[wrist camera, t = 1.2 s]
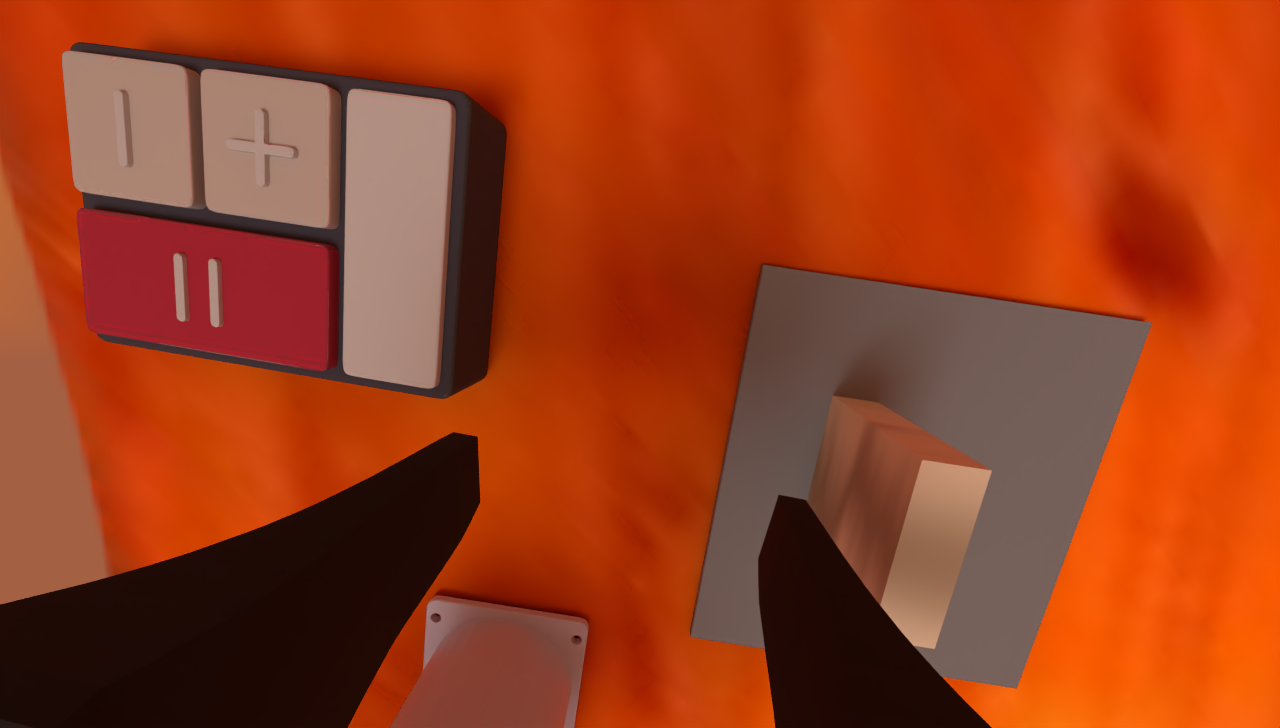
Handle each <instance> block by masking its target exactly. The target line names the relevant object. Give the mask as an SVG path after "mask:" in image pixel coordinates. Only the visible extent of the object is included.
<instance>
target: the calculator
mask: <svg viewBox="0 0 1280 728" xmlns="http://www.w3.org/2000/svg"><path fill="white" fill-rule="evenodd" d="M62 68H63V78H64V88H65V99H66V109H67V120H68V130H69V140H70V151H71V161H72V172H73V180H74V185H75V187H76V188H77V189H78V190H79V191H82V193H83V203H84V208H81V209H79V210H78V212H77V224H78V234H79V245H80V255H81V266H82V276H83V286H84V297H85V307H86V317H87V324H88V328H89V329H90V330H91V331H92V332H95V333H97V335H98V336H99V337H100V338H101V339H102V340H104V341H107V342H112V343H117V344H123V345H129V346H135V347H141V348H147V349H152V350H158V351H164V352H170V353H176V354H182V355H187V356H193V357H199V358H205V359H211V360H217V361H222V362H228V363H234V364H240V365H246V366H252V367H257V368H263V369H269V370H275V371H281V372H287V373H292V374H298V375H304V376H310V377H316V378H322V379H327V380H333V381H339V382H345V383H351V384H357V385H362V386H368V387H374V388H380V389H386V390H392V391H397V392H403V393H409V394H415V395H421V396H427V397H432V398H439V399H445V398H448V397H450V396H452V395H454V394H456V393H458V392H460V391H462V390H463V389H465V388H467V387H469V386H471V385H473V384H475V383H477V382H479V381H480V380H482V379H484V378H485V376H486V374H487V369H488V358H489V345H490V333H491V321H492V309H493V297H494V284H495V272H496V260H497V248H498V235H499V223H500V211H501V199H502V186H503V174H504V162H505V150H506V129H505V127H504V125H503V124H502V123H501V122H500V121H498V120H497V119H496V118H495V117H494V116H492V115H491V114H490V113H489V112H488V111H486V110H485V109H484V108H483V107H482V106H480V105H479V104H478V103H477V102H475V101H474V100H473V99H472V98H470V97H469V96H468V95H467V94H465V93H464V92H461V91H457V90H450V89H442V88H434V87H427V86H419V85H411V84H403V83H396V82H388V81H380V80H372V79H365V78H357V77H349V76H341V75H333V74H326V73H318V72H310V71H302V70H295V69H287V68H279V67H271V66H264V65H256V64H248V63H240V62H232V61H225V60H217V59H209V58H201V57H194V56H186V55H178V54H170V53H163V52H155V51H147V50H139V49H131V48H124V47H116V46H108V45H100V44H92V43H84V42H78V43H75V44H74V45H72V47H71V49H70V51H66V52H64V53H63V55H62Z"/></svg>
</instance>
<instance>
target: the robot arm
mask: <svg viewBox="0 0 1280 728" xmlns="http://www.w3.org/2000/svg"><path fill="white" fill-rule="evenodd" d="M479 504H480V485H479V460H478V437H476V436H471V435H465V434H460V433H455V432H453V433H451V434H449V435H447V436H445V437H443V438H441V439H439V440H438V441H436V442H434V443H432V444H430V445H428V446H427V447H425V448H423V449H421V450H419V451H418V452H416V453H414V454H412V455H410V456H409V457H407V458H405V459H403V460H401V461H399V462H398V463H396V464H394V465H392V466H390V467H388V468H387V469H385V470H383V471H381V472H379V473H377V474H375V475H374V476H372V477H370V478H368V479H366V480H364V481H362V482H360V483H358V484H356V485H354V486H352V487H350V488H348V489H346V490H344V491H342V492H340V493H338V494H335V495H333V496H331V497H329V498H327V499H325V500H323V501H321V502H319V503H317V504H315V505H312V506H310V507H308V508H306V509H303V510H301V511H299V512H297V513H294V514H292V515H290V516H287V517H285V518H282V519H280V520H277V521H275V522H273V523H270V524H268V525H265V526H263V527H260V528H258V529H255V530H252V531H250V532H247V533H244V534H241V535H238V536H236V537H233V538H230V539H227V540H224V541H222V542H219V543H216V544H213V545H210V546H208V547H205V548H202V549H199V550H196V551H194V552H191V553H187V554H184V555H181V556H178V557H175V558H172V559H169V560H165V561H162V562H159V563H156V564H153V565H149V566H146V567H142V568H139V569H136V570H132V571H129V572H125V573H122V574H118V575H115V576H111V577H108V578H104V579H100V580H97V581H93V582H89V583H86V584H82V585H78V586H74V587H70V588H66V589H62V590H58V591H54V592H49V593H45V594H42V595H37V596H33V597H30V598H25V599H21V600H17V601H13V602H9V603H6V604H1V605H0V728H348V726H349V724H350V722H351V720H352V718H353V716H354V714H355V712H356V710H357V708H358V706H359V705H360V703H361V701H362V699H363V697H364V695H365V693H366V691H367V689H368V688H369V686H370V684H371V682H372V680H373V679H374V677H375V675H376V673H377V671H378V669H379V668H380V666H381V664H382V662H383V660H384V658H385V657H386V655H387V653H388V651H389V649H390V648H391V646H392V644H393V643H394V641H395V639H396V638H397V636H398V635H399V633H400V631H401V630H402V628H403V627H404V625H405V624H406V622H407V621H408V619H409V618H410V616H411V615H412V613H413V612H414V610H415V609H416V607H417V606H418V604H419V603H420V601H421V600H422V598H423V597H424V595H425V594H426V592H427V591H428V589H429V588H430V586H431V585H432V583H433V582H434V580H435V579H436V577H437V576H438V575H439V573H440V572H441V570H442V569H443V567H444V566H445V564H446V562H447V561H448V559H449V558H450V556H451V555H452V553H453V552H454V550H455V549H456V547H457V546H458V544H459V543H460V541H461V539H462V538H463V536H464V534H465V532H466V530H467V528H468V526H469V524H470V522H471V520H472V518H473V516H474V514H475V512H476V510H477V508H478V506H479ZM758 589H759V608H760V616H761V623H762V630H763V638H764V645H765V652H766V660H767V667H768V674H769V681H770V688H771V695H772V703H773V710H774V719H775V728H991V727H990V726H989V725H988V724H987V723H986V722H985V721H984V720H983V719H982V718H981V717H980V716H979V715H978V714H977V713H976V712H975V711H974V710H973V709H972V708H971V707H970V706H969V705H968V704H967V703H966V702H965V701H964V700H963V699H962V698H961V697H960V696H959V695H958V693H957V692H956V691H955V690H954V689H953V688H952V687H951V686H950V685H949V684H948V683H947V682H946V681H945V680H944V679H943V678H942V677H941V676H940V674H939V673H938V672H937V671H936V670H935V669H934V668H933V667H932V666H931V664H930V663H929V662H928V661H927V660H926V659H925V658H924V657H923V656H922V655H921V653H920V652H919V651H918V650H917V649H916V648H915V647H914V646H913V645H912V643H911V642H910V641H909V640H908V639H907V637H906V636H905V635H904V634H903V633H902V632H901V630H900V629H899V628H898V627H897V626H896V624H895V623H894V622H893V621H892V619H891V618H890V617H889V616H888V614H887V613H886V612H885V611H884V609H883V608H882V607H881V606H880V604H879V603H878V602H877V601H876V599H875V598H874V597H873V595H872V594H871V593H870V591H869V590H868V589H867V588H866V586H865V585H864V583H863V582H862V581H861V579H860V578H859V577H858V575H857V574H856V572H855V571H854V570H853V568H852V567H851V565H850V564H849V563H848V561H847V560H846V558H845V557H844V556H843V554H842V553H841V551H840V550H839V548H838V547H837V545H836V544H835V542H834V541H833V539H832V538H831V537H830V535H829V534H828V532H827V531H826V529H825V528H824V526H823V525H822V523H821V522H820V520H819V519H818V517H817V516H816V514H815V513H814V511H813V510H812V508H811V507H810V505H809V504H808V502H807V501H806V500H804V499H799V498H794V497H789V496H783V495H778V498H777V502H776V505H775V508H774V511H773V514H772V517H771V520H770V523H769V526H768V529H767V533H766V536H765V539H764V542H763V545H762V548H761V551H760V554H759V557H758ZM435 613H437V614H439V615H440V616H441V617H439V616H437V615H436V614H435ZM588 630H589V624H588V622H587V621H586V620H585V619H583V618H580V617H575V616H568V615H562V614H555V613H549V612H543V611H536V610H530V609H524V608H517V607H511V606H505V605H498V604H492V603H486V602H479V601H473V600H467V599H460V598H454V597H448V596H441V595H436V596H434V597H432V599H431V600H430V601H429V603H428V605H427V613H426V629H425V645H424V661H423V672H422V673H421V675H420V677H419V679H418V680H417V682H416V684H415V685H414V687H413V689H412V690H411V692H410V694H409V696H408V697H407V699H406V701H405V702H404V704H403V706H402V707H401V709H400V711H399V713H398V714H397V716H396V718H395V719H394V721H393V723H392V724H391V726H390V728H574V727H575V720H576V713H577V706H578V699H579V692H580V685H581V678H582V671H583V664H584V657H585V651H586V644H587V637H588ZM576 635H577V636H580V637H581V638H575V637H574V636H576Z"/></svg>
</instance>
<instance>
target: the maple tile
mask: <svg viewBox="0 0 1280 728" xmlns="http://www.w3.org/2000/svg"><path fill="white" fill-rule="evenodd" d="M991 472H992V470H990V469H988V468H987V467H985V466H983V465H982V464H980V463H978V462H977V461H975V460H973V459H972V458H970V457H968V456H967V455H965V454H963V453H962V452H960V451H958V450H957V449H955V448H953V447H952V446H950V445H948V444H947V443H945V442H943V441H942V440H940V439H938V438H937V437H935V436H933V435H932V434H930V433H928V432H927V431H925V430H923V429H922V428H920V427H918V426H917V425H915V424H913V423H912V422H910V421H909V420H907V419H905V418H904V417H902V416H900V415H899V414H897V413H895V412H894V411H892V410H890V409H889V408H887V407H885V406H884V405H882V404H880V403H879V402H872V401H866V400H859V399H853V398H846V397H839V396H833V395H832V399H831V404H830V408H829V412H828V416H827V420H826V425H825V429H824V433H823V437H822V441H821V446H820V450H819V454H818V458H817V462H816V466H815V471H814V475H813V479H812V483H811V487H810V492H809V496H808V500H807V502H808V504H809V505H810V507H811V508H812V510H813V511H814V513H815V514H816V516H817V517H818V519H819V520H820V522H821V523H822V525H823V526H824V528H825V529H826V531H827V532H828V534H829V535H830V537H831V538H832V539H833V541H834V542H835V544H836V545H837V547H838V548H839V550H840V551H841V553H842V554H843V556H844V557H845V558H846V560H847V561H848V563H849V564H850V565H851V567H852V568H853V570H854V571H855V572H856V574H857V575H858V577H859V578H860V579H861V581H862V582H863V583H864V585H865V586H866V588H867V589H868V590H869V591H870V593H871V594H872V595H873V597H874V598H875V599H876V601H877V602H878V603H879V604H880V606H881V607H882V608H883V609H884V611H885V612H886V613H887V614H888V616H889V617H890V618H891V619H892V621H893V622H894V623H895V624H896V626H897V627H898V628H899V629H900V630H901V632H902V633H903V634H904V635H905V636H906V637H907V639H908V640H909V641H910V642H911V643H912V645H913V646H919V647H925V648H931V649H935V646H936V643H937V640H938V637H939V634H940V631H941V628H942V625H943V621H944V618H945V615H946V612H947V609H948V606H949V603H950V600H951V597H952V593H953V590H954V587H955V584H956V581H957V578H958V575H959V572H960V569H961V565H962V562H963V559H964V556H965V553H966V550H967V547H968V544H969V541H970V537H971V534H972V531H973V528H974V525H975V522H976V519H977V516H978V513H979V509H980V506H981V503H982V500H983V497H984V494H985V491H986V488H987V485H988V481H989V478H990V475H991Z"/></svg>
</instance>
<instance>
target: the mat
mask: <svg viewBox="0 0 1280 728" xmlns="http://www.w3.org/2000/svg"><path fill="white" fill-rule="evenodd" d="M1151 324H1152V323H1150V322H1143V321H1136V320H1130V319H1123V318H1116V317H1110V316H1103V315H1096V314H1090V313H1083V312H1076V311H1070V310H1063V309H1056V308H1050V307H1043V306H1036V305H1029V304H1023V303H1016V302H1009V301H1003V300H996V299H989V298H983V297H976V296H969V295H963V294H956V293H949V292H943V291H936V290H929V289H923V288H916V287H909V286H903V285H896V284H889V283H883V282H876V281H869V280H862V279H856V278H849V277H842V276H836V275H829V274H822V273H816V272H809V271H802V270H796V269H789V268H782V267H776V266H769V265H761V271H760V276H759V281H758V286H757V291H756V296H755V301H754V306H753V311H752V317H751V322H750V327H749V332H748V337H747V342H746V347H745V352H744V358H743V363H742V368H741V373H740V378H739V383H738V388H737V393H736V398H735V404H734V409H733V414H732V419H731V424H730V429H729V434H728V439H727V445H726V450H725V455H724V460H723V465H722V470H721V475H720V480H719V485H718V491H717V496H716V501H715V506H714V511H713V516H712V521H711V526H710V531H709V537H708V542H707V547H706V552H705V557H704V562H703V567H702V572H701V578H700V583H699V588H698V593H697V598H696V603H695V608H694V613H693V618H692V624H691V629H690V636H691V637H693V638H699V639H706V640H712V641H719V642H725V643H731V644H738V645H744V646H750V647H757V648H763V649H765V645H764V638H763V630H762V623H761V616H760V608H759V589H758V557H759V554H760V551H761V548H762V545H763V542H764V539H765V536H766V533H767V529H768V526H769V523H770V520H771V517H772V514H773V511H774V508H775V505H776V502H777V498H778V495H783V496H789V497H794V498H799V499H804V500H806V501H807V500H808V496H809V492H810V487H811V483H812V479H813V475H814V471H815V466H816V462H817V458H818V454H819V450H820V446H821V441H822V437H823V433H824V429H825V425H826V420H827V416H828V412H829V408H830V404H831V399H832V395H833V396H839V397H846V398H853V399H859V400H866V401H872V402H879V403H880V404H882V405H884V406H885V407H887V408H889V409H890V410H892V411H894V412H895V413H897V414H899V415H900V416H902V417H904V418H905V419H907V420H909V421H910V422H912V423H913V424H915V425H917V426H918V427H920V428H922V429H923V430H925V431H927V432H928V433H930V434H932V435H933V436H935V437H937V438H938V439H940V440H942V441H943V442H945V443H947V444H948V445H950V446H952V447H953V448H955V449H957V450H958V451H960V452H962V453H963V454H965V455H967V456H968V457H970V458H972V459H973V460H975V461H977V462H978V463H980V464H982V465H983V466H985V467H987V468H988V469H990V470H992V472H991V475H990V478H989V481H988V485H987V488H986V491H985V494H984V497H983V500H982V503H981V506H980V509H979V513H978V516H977V519H976V522H975V525H974V528H973V531H972V534H971V537H970V541H969V544H968V547H967V550H966V553H965V556H964V559H963V562H962V565H961V569H960V572H959V575H958V578H957V581H956V584H955V587H954V590H953V593H952V597H951V600H950V603H949V606H948V609H947V612H946V615H945V618H944V621H943V625H942V628H941V631H940V634H939V637H938V640H937V643H936V646H935V649H931V648H925V647H919V646H914V647H915V648H916V649H917V650H918V651H919V652H920V653H921V655H922V656H923V657H924V658H925V659H926V660H927V661H928V662H929V663H930V664H931V666H932V667H933V668H934V669H935V670H936V671H937V672H938V673H939V674H940V676H941V677H947V678H953V679H960V680H966V681H972V682H979V683H985V684H991V685H998V686H1004V687H1010V688H1017V686H1018V683H1019V681H1020V678H1021V675H1022V673H1023V670H1024V667H1025V664H1026V662H1027V659H1028V656H1029V654H1030V651H1031V648H1032V646H1033V643H1034V640H1035V637H1036V635H1037V632H1038V629H1039V627H1040V624H1041V621H1042V619H1043V616H1044V613H1045V610H1046V608H1047V605H1048V602H1049V600H1050V597H1051V594H1052V592H1053V589H1054V586H1055V583H1056V581H1057V578H1058V575H1059V573H1060V570H1061V567H1062V565H1063V562H1064V559H1065V556H1066V554H1067V551H1068V548H1069V546H1070V543H1071V540H1072V538H1073V535H1074V532H1075V529H1076V527H1077V524H1078V521H1079V519H1080V516H1081V513H1082V511H1083V508H1084V505H1085V502H1086V500H1087V497H1088V494H1089V492H1090V489H1091V486H1092V484H1093V481H1094V478H1095V475H1096V473H1097V470H1098V467H1099V465H1100V462H1101V459H1102V457H1103V454H1104V451H1105V448H1106V446H1107V443H1108V440H1109V438H1110V435H1111V432H1112V430H1113V427H1114V424H1115V421H1116V419H1117V416H1118V413H1119V411H1120V408H1121V405H1122V403H1123V400H1124V397H1125V394H1126V392H1127V389H1128V386H1129V384H1130V381H1131V378H1132V376H1133V373H1134V370H1135V368H1136V365H1137V362H1138V359H1139V357H1140V354H1141V351H1142V349H1143V346H1144V343H1145V341H1146V338H1147V335H1148V332H1149V330H1150V327H1151Z"/></svg>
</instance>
